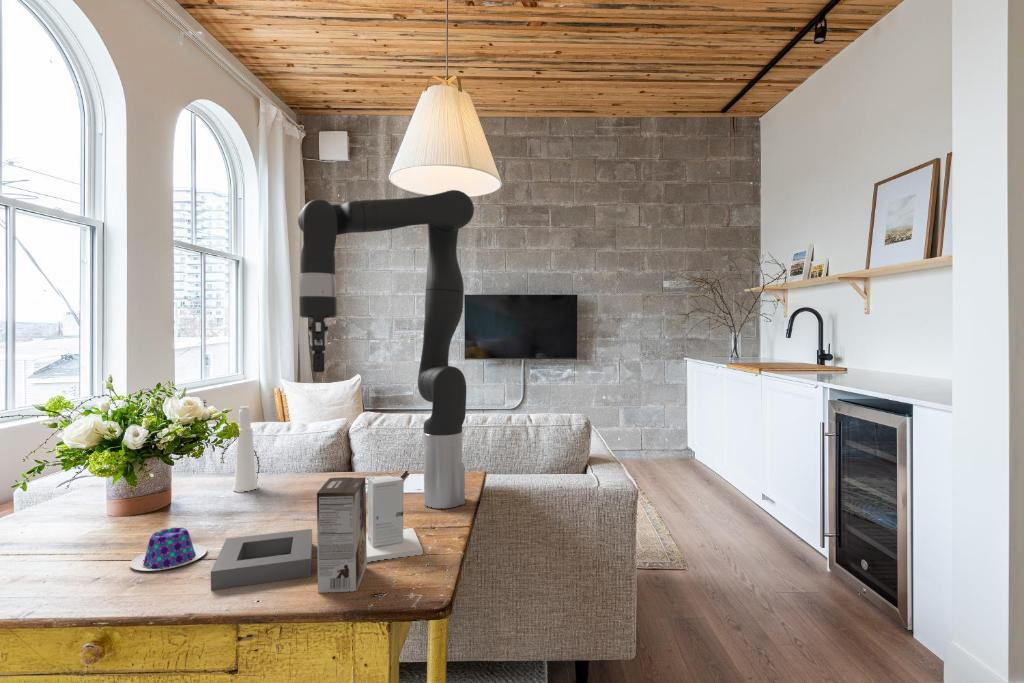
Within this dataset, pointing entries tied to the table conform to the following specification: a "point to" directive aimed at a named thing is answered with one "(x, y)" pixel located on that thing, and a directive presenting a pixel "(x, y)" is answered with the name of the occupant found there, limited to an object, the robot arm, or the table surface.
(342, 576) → the coffee box
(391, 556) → the white mat
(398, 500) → the skincare box
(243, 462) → the cosmetic bottle
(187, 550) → the purple patterned hat
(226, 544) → the grey square frame
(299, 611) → the table surface
